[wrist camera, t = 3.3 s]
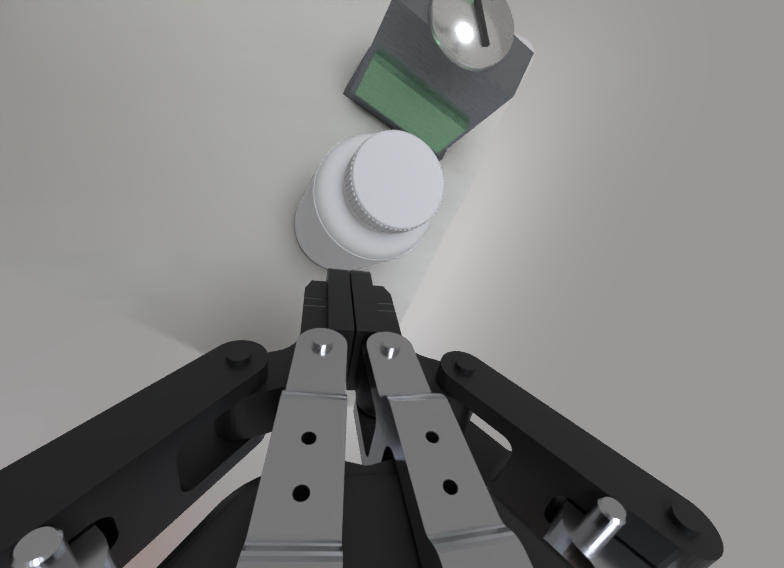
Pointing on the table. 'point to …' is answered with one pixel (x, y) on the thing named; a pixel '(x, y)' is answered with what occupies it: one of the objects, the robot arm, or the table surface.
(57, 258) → the table surface
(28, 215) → the table surface
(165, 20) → the table surface
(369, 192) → the pill bottle
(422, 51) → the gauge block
